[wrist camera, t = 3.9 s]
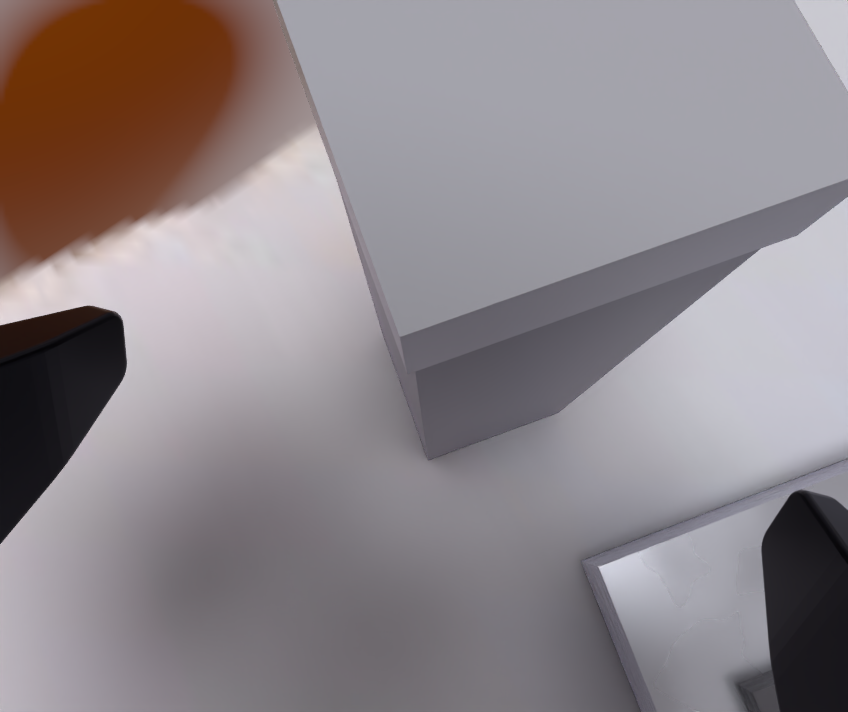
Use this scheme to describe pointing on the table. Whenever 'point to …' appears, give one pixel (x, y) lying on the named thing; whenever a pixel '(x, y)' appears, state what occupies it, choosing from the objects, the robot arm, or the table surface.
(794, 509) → the robot arm
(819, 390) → the table surface
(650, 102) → the plug
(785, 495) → the socket
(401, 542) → the table surface
